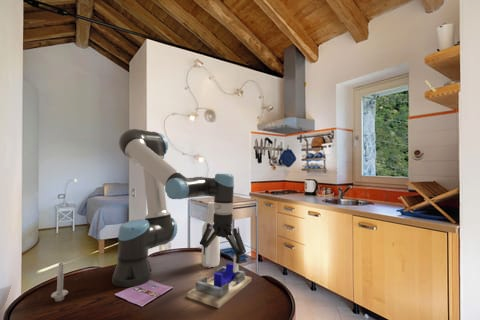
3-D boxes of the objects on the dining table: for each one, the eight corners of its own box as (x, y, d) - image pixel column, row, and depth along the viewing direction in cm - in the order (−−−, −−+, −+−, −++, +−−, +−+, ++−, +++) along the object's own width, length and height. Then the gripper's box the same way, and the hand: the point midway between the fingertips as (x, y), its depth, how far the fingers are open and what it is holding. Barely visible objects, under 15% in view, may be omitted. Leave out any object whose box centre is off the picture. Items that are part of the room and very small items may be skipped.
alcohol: (214, 259, 128) (215, 200, 129) (222, 265, 121) (224, 203, 121) (198, 263, 123) (199, 201, 124) (206, 269, 116) (208, 204, 116)
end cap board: (186, 296, 91) (187, 284, 91) (223, 273, 112) (223, 263, 112) (218, 308, 84) (218, 294, 84) (251, 281, 105) (251, 270, 105)
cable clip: (224, 276, 105) (224, 262, 105) (234, 278, 103) (234, 264, 104) (210, 289, 94) (210, 273, 94) (220, 291, 92) (221, 275, 92)
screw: (47, 302, 85) (59, 295, 90) (59, 304, 85) (71, 296, 89) (48, 264, 86) (61, 258, 91) (60, 265, 85) (72, 260, 90)
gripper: (192, 210, 102) (190, 262, 101) (246, 219, 89) (244, 279, 89) (204, 207, 108) (202, 257, 108) (255, 215, 96) (253, 271, 95)
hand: (221, 267), depth 98 cm, fingers open, 13 cm apart
